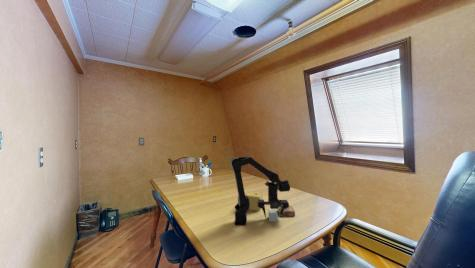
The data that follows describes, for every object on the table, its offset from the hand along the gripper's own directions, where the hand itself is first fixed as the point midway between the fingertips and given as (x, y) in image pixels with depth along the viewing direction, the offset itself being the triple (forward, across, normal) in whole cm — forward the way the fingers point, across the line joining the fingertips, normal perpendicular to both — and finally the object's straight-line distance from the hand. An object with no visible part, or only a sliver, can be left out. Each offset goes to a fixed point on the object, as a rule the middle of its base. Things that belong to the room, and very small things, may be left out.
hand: (272, 217), depth 119 cm
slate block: (+2, 0, 0) cm, 2 cm away
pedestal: (+1, +10, +9) cm, 14 cm away
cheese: (+2, -11, +17) cm, 20 cm away
